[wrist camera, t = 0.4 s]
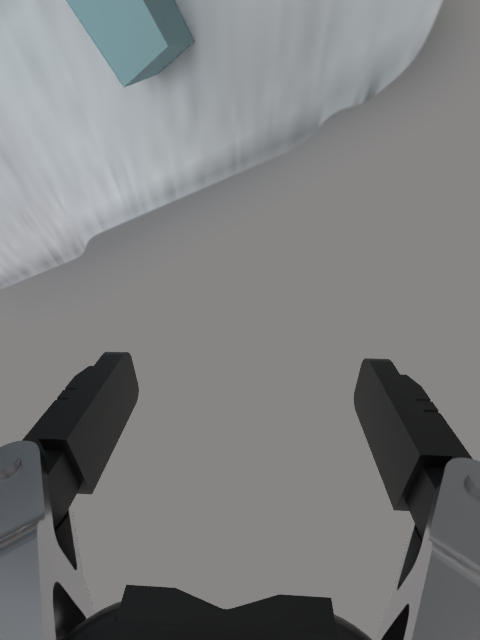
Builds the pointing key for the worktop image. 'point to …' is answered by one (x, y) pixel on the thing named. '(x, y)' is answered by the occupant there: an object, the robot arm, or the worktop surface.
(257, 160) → the worktop surface
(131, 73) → the cabinet block
